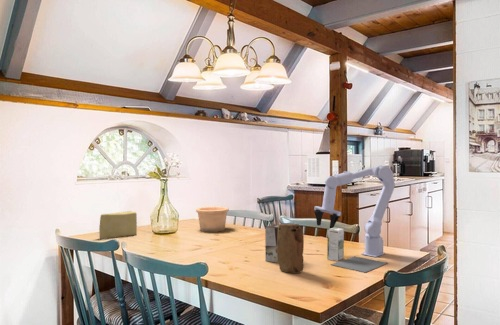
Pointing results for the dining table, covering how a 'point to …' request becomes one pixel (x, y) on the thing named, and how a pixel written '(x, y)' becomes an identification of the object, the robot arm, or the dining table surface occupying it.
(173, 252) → the dining table surface
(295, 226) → the block
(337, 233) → the syrup box
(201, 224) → the pottery
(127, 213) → the cheese
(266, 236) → the coffee box
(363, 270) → the mat
